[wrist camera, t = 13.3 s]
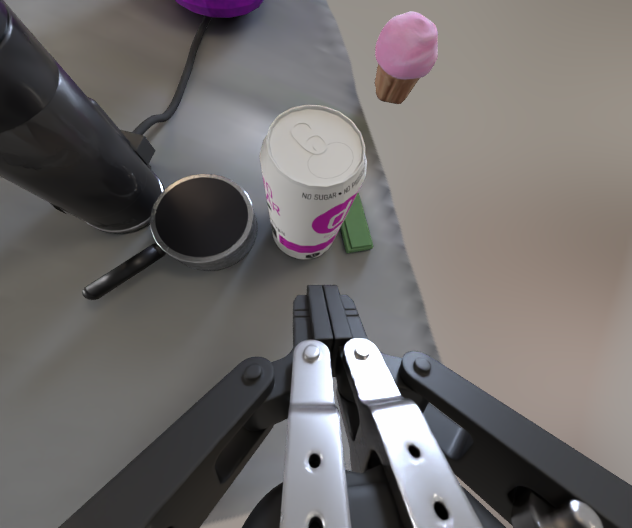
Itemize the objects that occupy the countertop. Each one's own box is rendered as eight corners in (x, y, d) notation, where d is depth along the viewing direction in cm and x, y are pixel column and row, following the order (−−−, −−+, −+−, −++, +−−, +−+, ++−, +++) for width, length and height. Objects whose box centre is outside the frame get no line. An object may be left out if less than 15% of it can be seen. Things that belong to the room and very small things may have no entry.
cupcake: (415, 117, 38) (457, 46, 29) (364, 112, 37) (391, 38, 28) (408, 77, 41) (444, 0, 31) (360, 72, 40) (383, -9, 30)
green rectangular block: (333, 199, 32) (335, 194, 31) (356, 197, 33) (359, 191, 31) (346, 253, 30) (349, 249, 29) (371, 249, 31) (374, 245, 30)
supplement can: (346, 235, 31) (396, 153, 17) (300, 273, 29) (311, 217, 14) (307, 193, 32) (321, 82, 18) (259, 227, 30) (231, 132, 16)
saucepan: (223, 176, 31) (215, 157, 28) (275, 234, 30) (273, 222, 26) (79, 263, 26) (47, 253, 23) (133, 339, 25) (107, 340, 21)
